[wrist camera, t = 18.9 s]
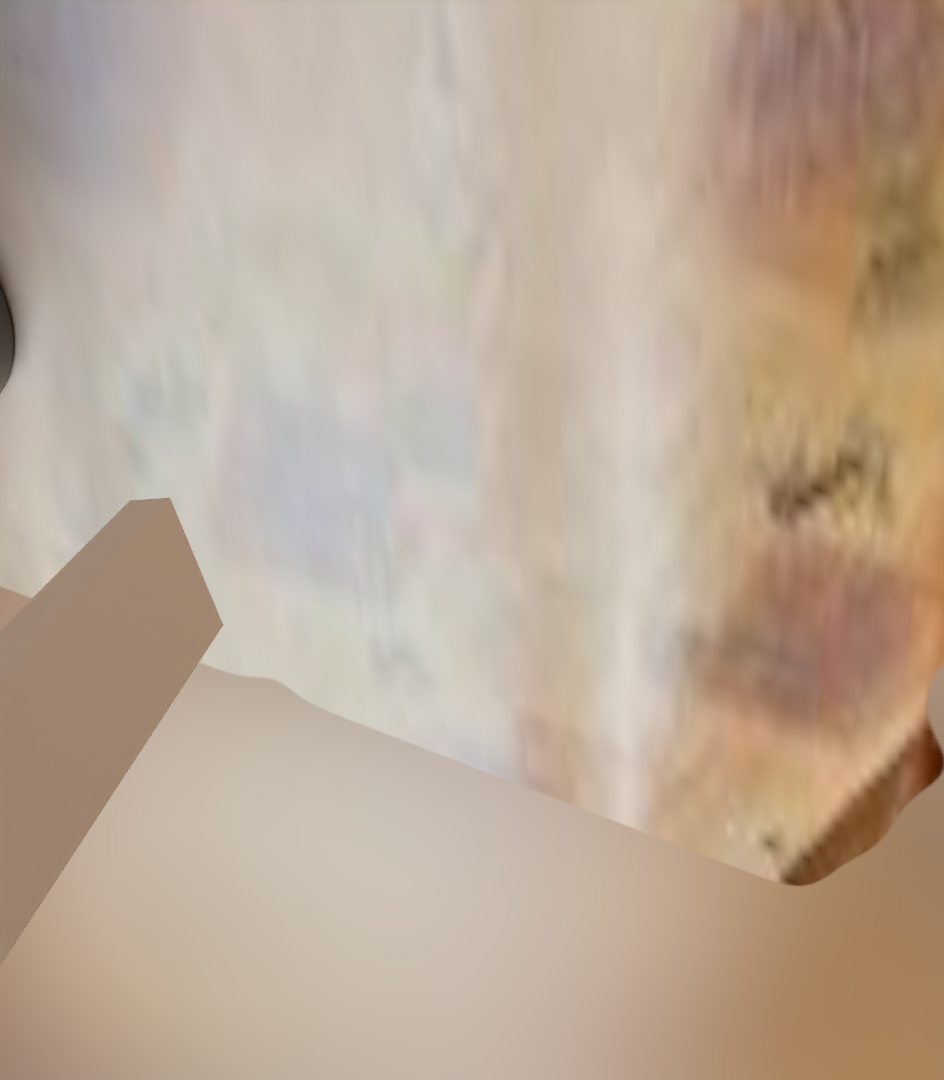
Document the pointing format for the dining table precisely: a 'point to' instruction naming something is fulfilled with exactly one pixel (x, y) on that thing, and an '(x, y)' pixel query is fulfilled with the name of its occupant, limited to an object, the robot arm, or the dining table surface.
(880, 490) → the dining table surface
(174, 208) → the dining table surface
